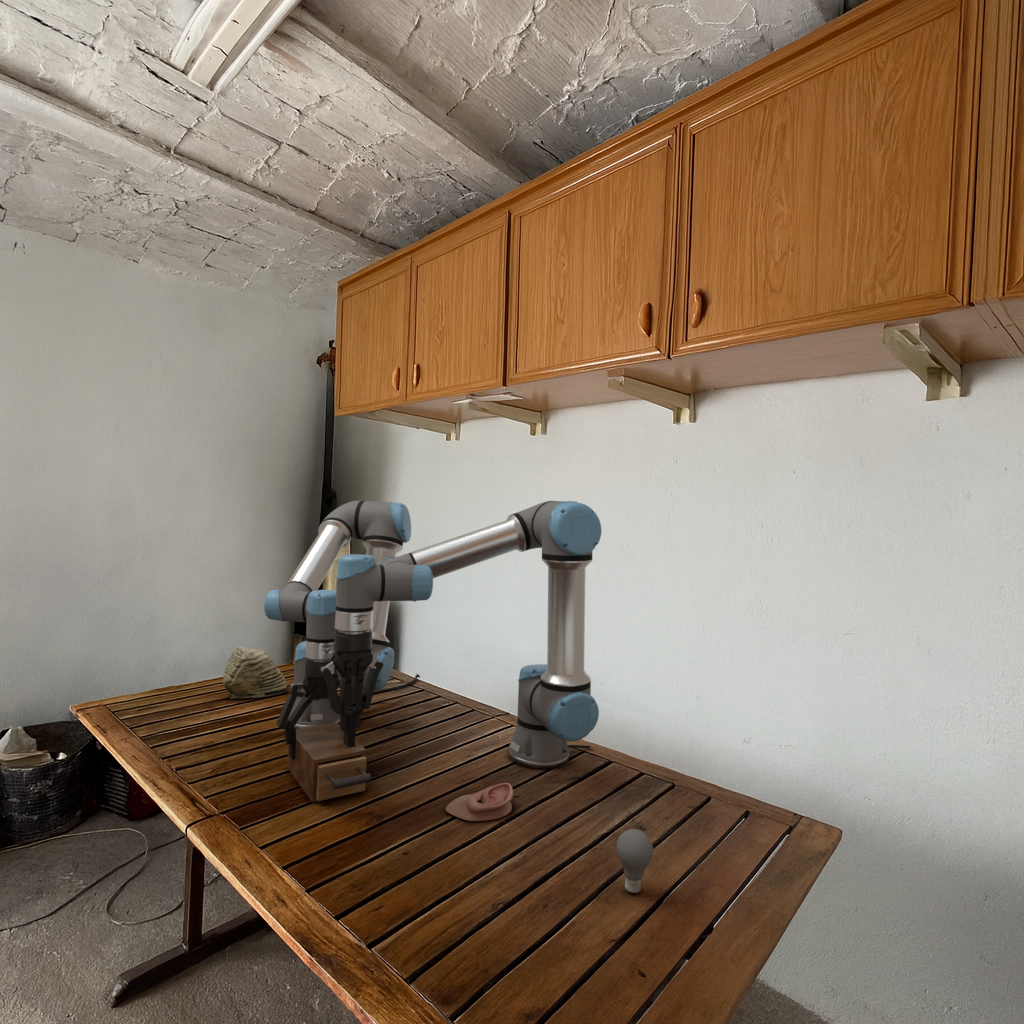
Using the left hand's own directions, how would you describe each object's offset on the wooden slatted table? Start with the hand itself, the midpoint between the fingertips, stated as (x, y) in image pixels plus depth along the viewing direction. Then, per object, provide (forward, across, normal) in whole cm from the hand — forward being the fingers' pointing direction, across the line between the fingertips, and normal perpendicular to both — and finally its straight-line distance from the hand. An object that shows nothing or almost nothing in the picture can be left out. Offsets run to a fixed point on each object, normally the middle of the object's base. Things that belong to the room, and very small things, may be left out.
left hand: (318, 752), depth 146 cm
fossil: (+4, 0, +63) cm, 63 cm away
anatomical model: (+4, +23, -34) cm, 41 cm away
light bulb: (+4, +31, -70) cm, 77 cm away
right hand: (-8, 0, -20) cm, 21 cm away
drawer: (+3, 0, -10) cm, 11 cm away
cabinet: (+4, 0, -5) cm, 7 cm away
